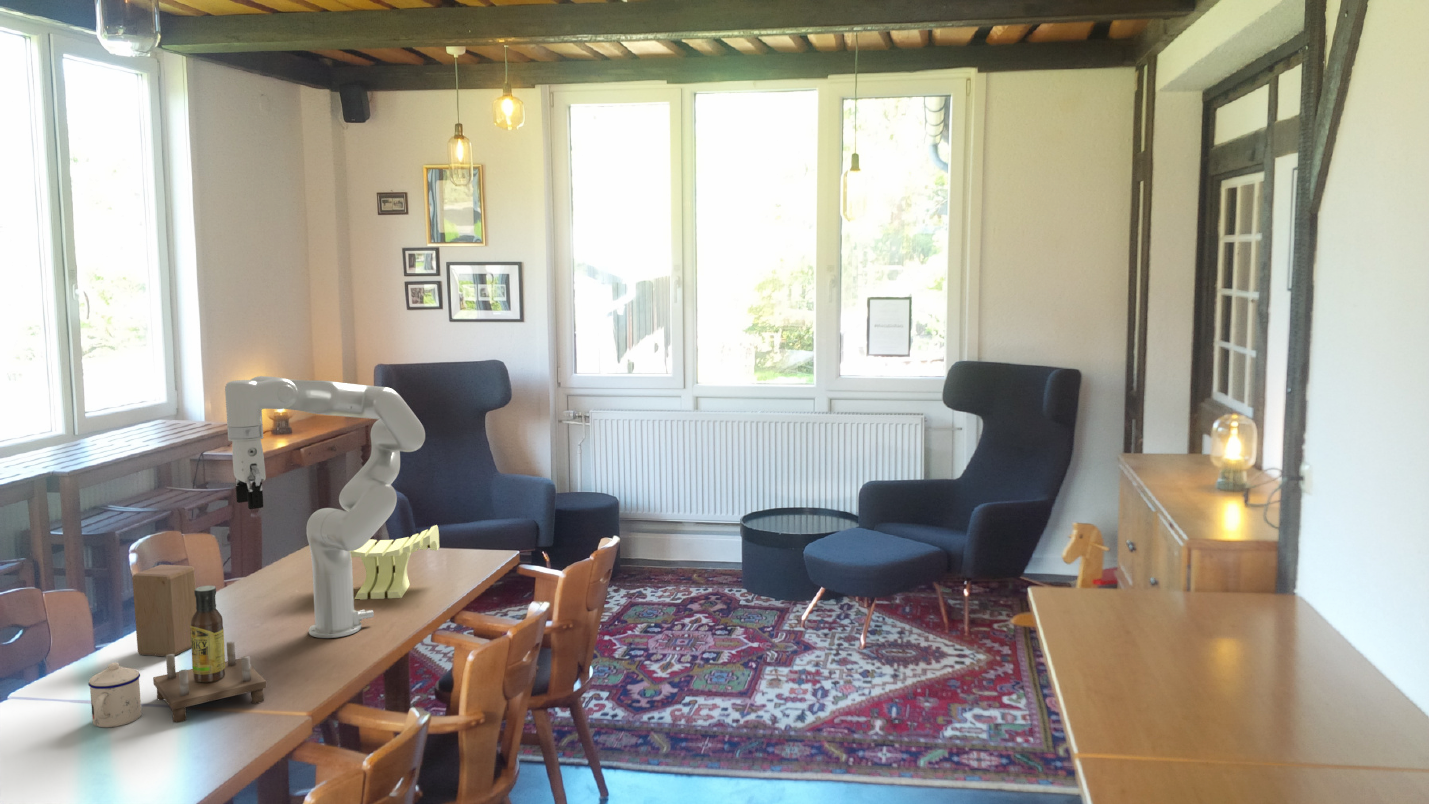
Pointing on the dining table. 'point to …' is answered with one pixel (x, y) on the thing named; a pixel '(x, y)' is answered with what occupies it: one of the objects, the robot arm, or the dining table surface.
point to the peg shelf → (208, 684)
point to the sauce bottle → (207, 637)
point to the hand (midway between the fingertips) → (249, 504)
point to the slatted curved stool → (391, 563)
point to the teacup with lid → (115, 696)
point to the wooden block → (164, 609)
